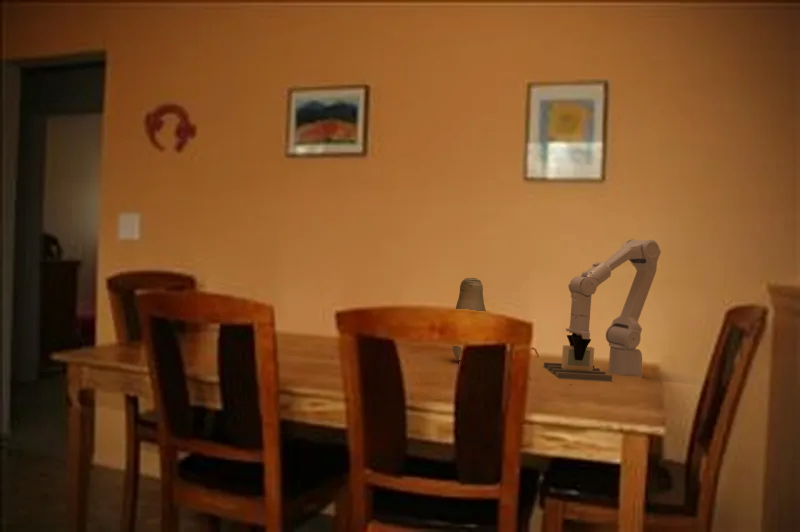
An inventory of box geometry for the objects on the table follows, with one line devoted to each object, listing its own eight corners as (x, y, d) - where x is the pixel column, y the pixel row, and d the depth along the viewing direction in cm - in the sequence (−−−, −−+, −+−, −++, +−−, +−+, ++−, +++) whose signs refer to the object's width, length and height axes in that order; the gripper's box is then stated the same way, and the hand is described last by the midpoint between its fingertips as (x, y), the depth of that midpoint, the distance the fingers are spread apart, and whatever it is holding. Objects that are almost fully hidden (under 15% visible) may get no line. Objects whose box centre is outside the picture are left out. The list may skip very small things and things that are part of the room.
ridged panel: (591, 371, 204) (591, 364, 204) (613, 385, 184) (613, 376, 184) (542, 369, 204) (542, 361, 203) (559, 382, 184) (559, 373, 183)
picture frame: (590, 369, 195) (591, 347, 195) (592, 370, 192) (594, 348, 192) (561, 367, 195) (562, 345, 195) (563, 369, 192) (565, 346, 192)
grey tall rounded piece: (463, 358, 214) (468, 276, 213) (488, 363, 207) (493, 279, 207) (445, 361, 207) (450, 276, 206) (471, 366, 200) (476, 279, 199)
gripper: (560, 312, 200) (557, 354, 201) (574, 317, 186) (571, 362, 186) (582, 313, 200) (579, 355, 201) (598, 318, 186) (594, 364, 186)
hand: (577, 359), depth 194 cm, fingers closed on picture frame, 2 cm apart
